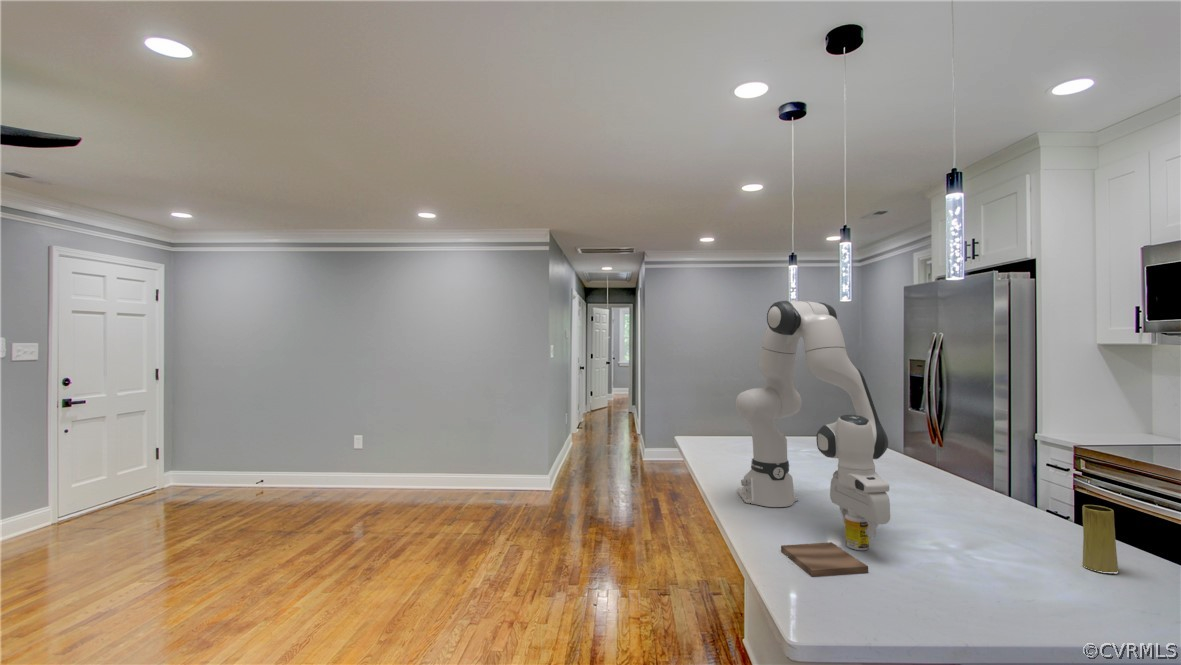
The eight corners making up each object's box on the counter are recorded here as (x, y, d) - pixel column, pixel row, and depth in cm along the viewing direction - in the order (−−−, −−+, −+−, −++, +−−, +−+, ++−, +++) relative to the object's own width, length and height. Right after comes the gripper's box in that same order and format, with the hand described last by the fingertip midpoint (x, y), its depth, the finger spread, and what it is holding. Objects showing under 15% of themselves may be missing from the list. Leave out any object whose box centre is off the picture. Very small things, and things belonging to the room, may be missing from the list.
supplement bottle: (862, 553, 133) (860, 513, 133) (841, 546, 137) (840, 507, 138) (873, 548, 136) (872, 508, 136) (853, 541, 140) (851, 503, 141)
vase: (1076, 566, 123) (1074, 506, 123) (1090, 561, 125) (1088, 502, 126) (1110, 577, 117) (1108, 513, 118) (1124, 572, 120) (1121, 509, 120)
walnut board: (781, 551, 135) (781, 545, 135) (831, 547, 136) (831, 542, 136) (812, 576, 120) (812, 570, 120) (868, 572, 121) (868, 566, 121)
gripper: (823, 469, 147) (825, 518, 146) (870, 488, 127) (872, 545, 126) (843, 468, 148) (845, 516, 147) (894, 486, 127) (896, 543, 127)
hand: (858, 530), depth 136 cm, fingers open, 8 cm apart
